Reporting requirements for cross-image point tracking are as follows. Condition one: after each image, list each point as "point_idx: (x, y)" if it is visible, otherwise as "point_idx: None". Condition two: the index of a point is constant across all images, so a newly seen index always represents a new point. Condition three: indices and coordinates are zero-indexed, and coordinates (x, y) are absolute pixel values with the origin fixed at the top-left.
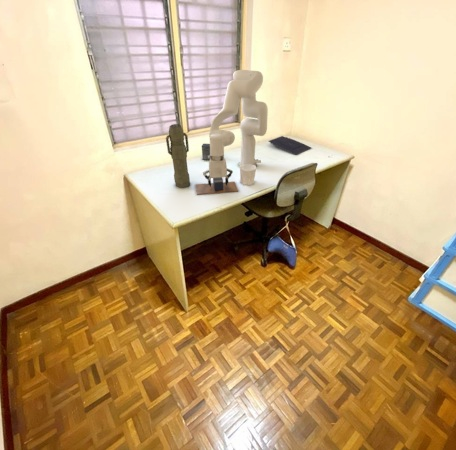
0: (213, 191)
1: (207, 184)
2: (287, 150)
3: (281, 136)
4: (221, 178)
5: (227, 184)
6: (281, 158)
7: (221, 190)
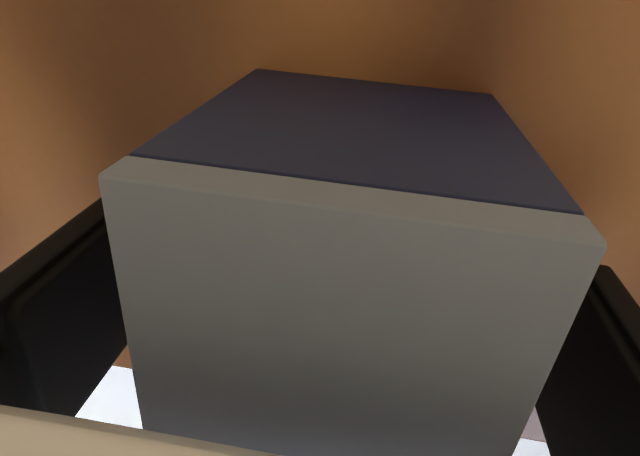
0: (545, 72)
1: (533, 413)
2: None
3: None
4: (169, 407)
5: None
6: None
7: (306, 69)
